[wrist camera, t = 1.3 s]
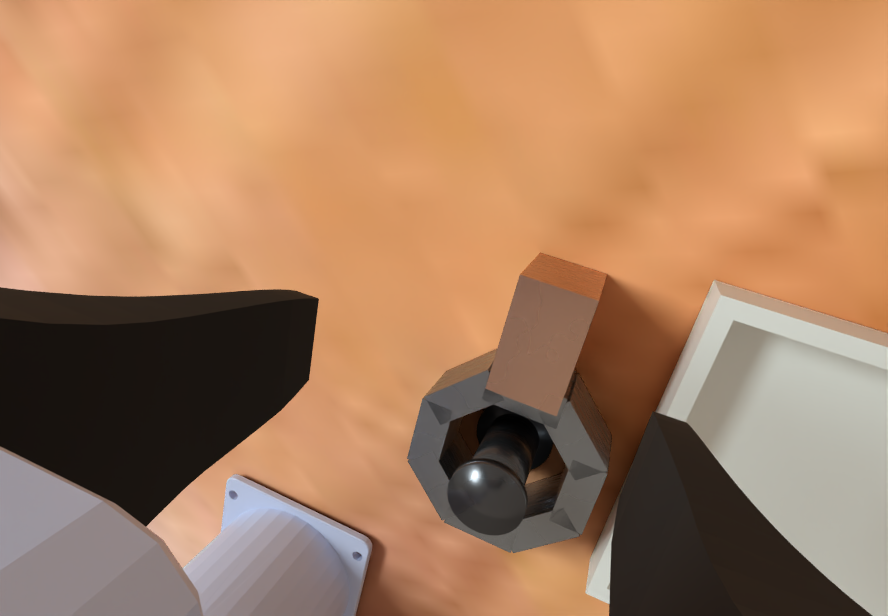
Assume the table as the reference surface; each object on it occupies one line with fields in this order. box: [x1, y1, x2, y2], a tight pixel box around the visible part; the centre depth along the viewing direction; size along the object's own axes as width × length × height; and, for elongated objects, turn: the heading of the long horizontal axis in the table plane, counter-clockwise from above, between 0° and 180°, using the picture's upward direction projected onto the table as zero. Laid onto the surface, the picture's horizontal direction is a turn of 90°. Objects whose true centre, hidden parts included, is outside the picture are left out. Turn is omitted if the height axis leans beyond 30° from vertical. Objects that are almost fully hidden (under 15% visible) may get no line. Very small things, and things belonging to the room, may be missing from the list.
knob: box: [447, 404, 553, 536], centre depth 20 cm, size 3×3×4 cm
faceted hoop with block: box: [407, 253, 612, 553], centre depth 20 cm, size 11×7×3 cm, turn 165°
